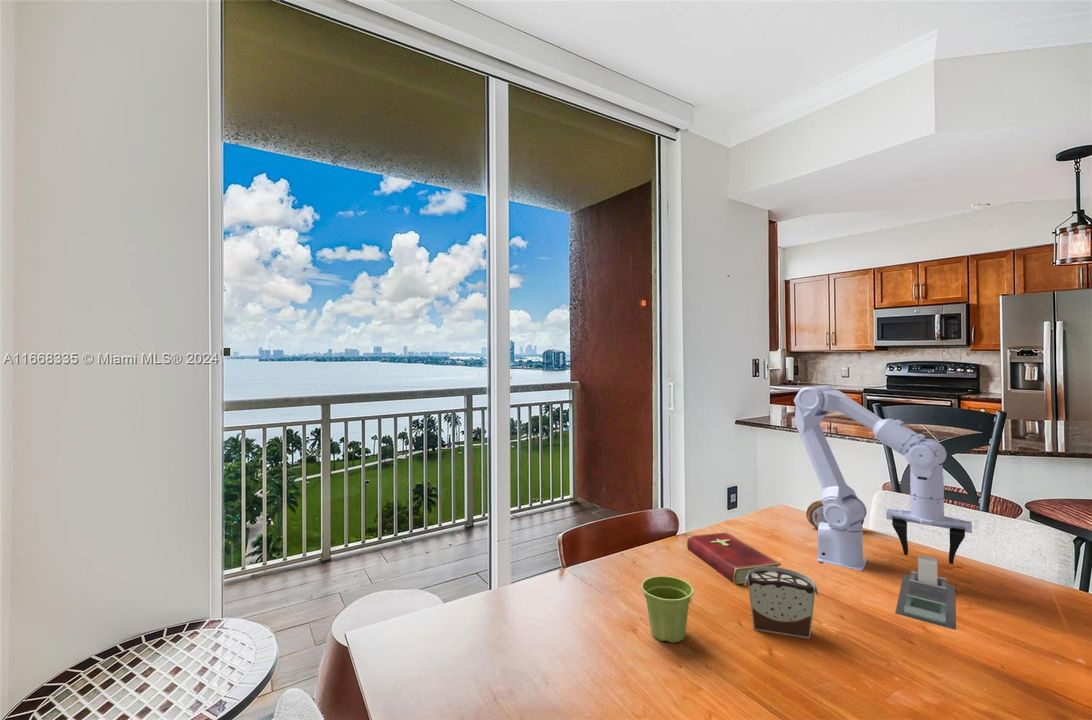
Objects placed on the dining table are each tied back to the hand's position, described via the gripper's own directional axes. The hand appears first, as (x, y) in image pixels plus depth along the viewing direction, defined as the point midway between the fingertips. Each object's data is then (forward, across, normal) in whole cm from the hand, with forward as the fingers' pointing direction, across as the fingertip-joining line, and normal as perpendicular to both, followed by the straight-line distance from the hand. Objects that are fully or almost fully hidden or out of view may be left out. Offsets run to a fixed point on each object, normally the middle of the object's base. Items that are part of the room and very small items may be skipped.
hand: (928, 558), depth 104 cm
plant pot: (+7, -36, -52) cm, 64 cm away
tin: (+7, -22, +28) cm, 36 cm away
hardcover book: (+7, -38, -14) cm, 41 cm away
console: (+7, 0, -7) cm, 10 cm away
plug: (+6, 0, 0) cm, 6 cm away
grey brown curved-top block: (+7, -21, -36) cm, 42 cm away
